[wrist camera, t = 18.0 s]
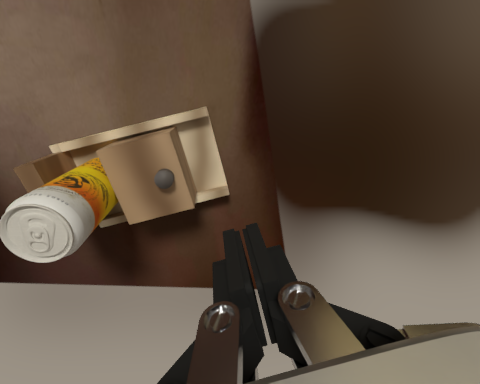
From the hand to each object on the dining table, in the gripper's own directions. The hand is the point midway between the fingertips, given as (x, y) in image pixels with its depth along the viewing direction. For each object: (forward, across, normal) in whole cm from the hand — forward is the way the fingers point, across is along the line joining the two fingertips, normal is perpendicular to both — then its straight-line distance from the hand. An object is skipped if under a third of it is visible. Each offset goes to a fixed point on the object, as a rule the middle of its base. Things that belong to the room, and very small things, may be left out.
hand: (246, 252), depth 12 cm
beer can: (+24, +16, 0) cm, 29 cm away
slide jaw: (+24, +9, 0) cm, 25 cm away
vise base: (+25, +11, 0) cm, 27 cm away
